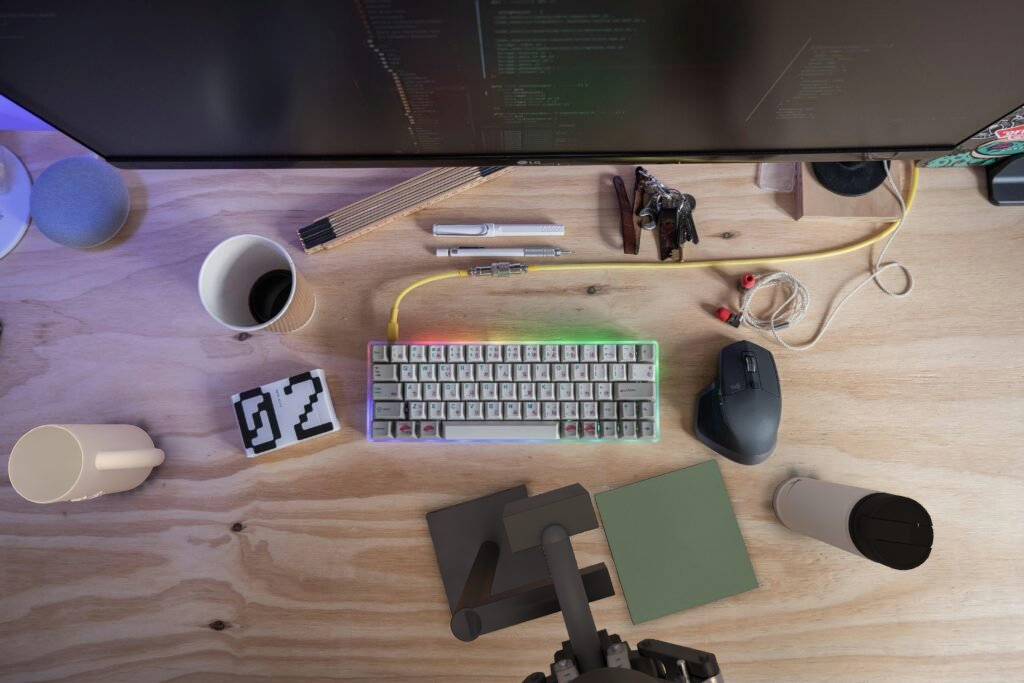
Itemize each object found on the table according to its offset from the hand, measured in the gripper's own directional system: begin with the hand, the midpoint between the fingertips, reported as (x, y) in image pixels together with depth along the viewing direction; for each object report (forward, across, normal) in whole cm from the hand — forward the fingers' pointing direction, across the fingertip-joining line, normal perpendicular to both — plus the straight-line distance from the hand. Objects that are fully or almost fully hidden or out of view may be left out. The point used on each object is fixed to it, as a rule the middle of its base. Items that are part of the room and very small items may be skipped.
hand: (588, 650), depth 40 cm
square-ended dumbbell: (+5, 0, +3) cm, 6 cm away
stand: (+30, -5, +3) cm, 31 cm away
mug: (+30, -46, +25) cm, 60 cm away
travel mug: (+30, +28, -2) cm, 41 cm away
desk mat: (+30, +13, -2) cm, 33 cm away
